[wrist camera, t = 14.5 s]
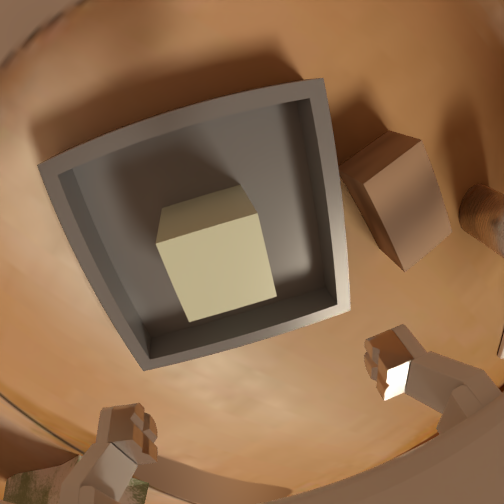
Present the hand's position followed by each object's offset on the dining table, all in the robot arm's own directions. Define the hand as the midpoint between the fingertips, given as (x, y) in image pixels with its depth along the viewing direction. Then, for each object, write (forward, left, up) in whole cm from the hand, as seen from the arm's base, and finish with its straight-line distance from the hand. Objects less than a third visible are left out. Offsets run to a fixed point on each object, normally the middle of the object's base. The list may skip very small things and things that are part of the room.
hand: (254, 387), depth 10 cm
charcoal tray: (+1, 0, -13) cm, 13 cm away
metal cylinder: (-4, -24, -13) cm, 27 cm away
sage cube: (+1, 0, -12) cm, 12 cm away
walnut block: (0, -13, -13) cm, 18 cm away
